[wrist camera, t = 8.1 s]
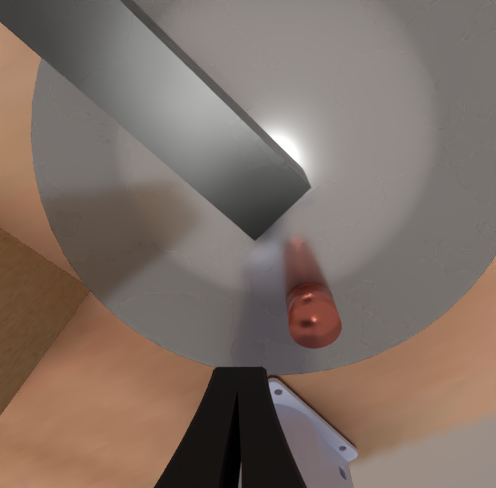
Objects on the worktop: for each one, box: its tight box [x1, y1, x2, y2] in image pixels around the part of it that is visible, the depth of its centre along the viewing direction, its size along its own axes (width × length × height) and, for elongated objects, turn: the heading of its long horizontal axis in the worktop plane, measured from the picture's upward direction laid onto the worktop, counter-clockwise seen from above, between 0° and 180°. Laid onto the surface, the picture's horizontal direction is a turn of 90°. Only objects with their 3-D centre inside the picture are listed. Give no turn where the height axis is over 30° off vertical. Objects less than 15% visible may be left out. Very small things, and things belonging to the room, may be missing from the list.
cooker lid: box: [0, 0, 496, 375], centre depth 10 cm, size 17×14×3 cm
